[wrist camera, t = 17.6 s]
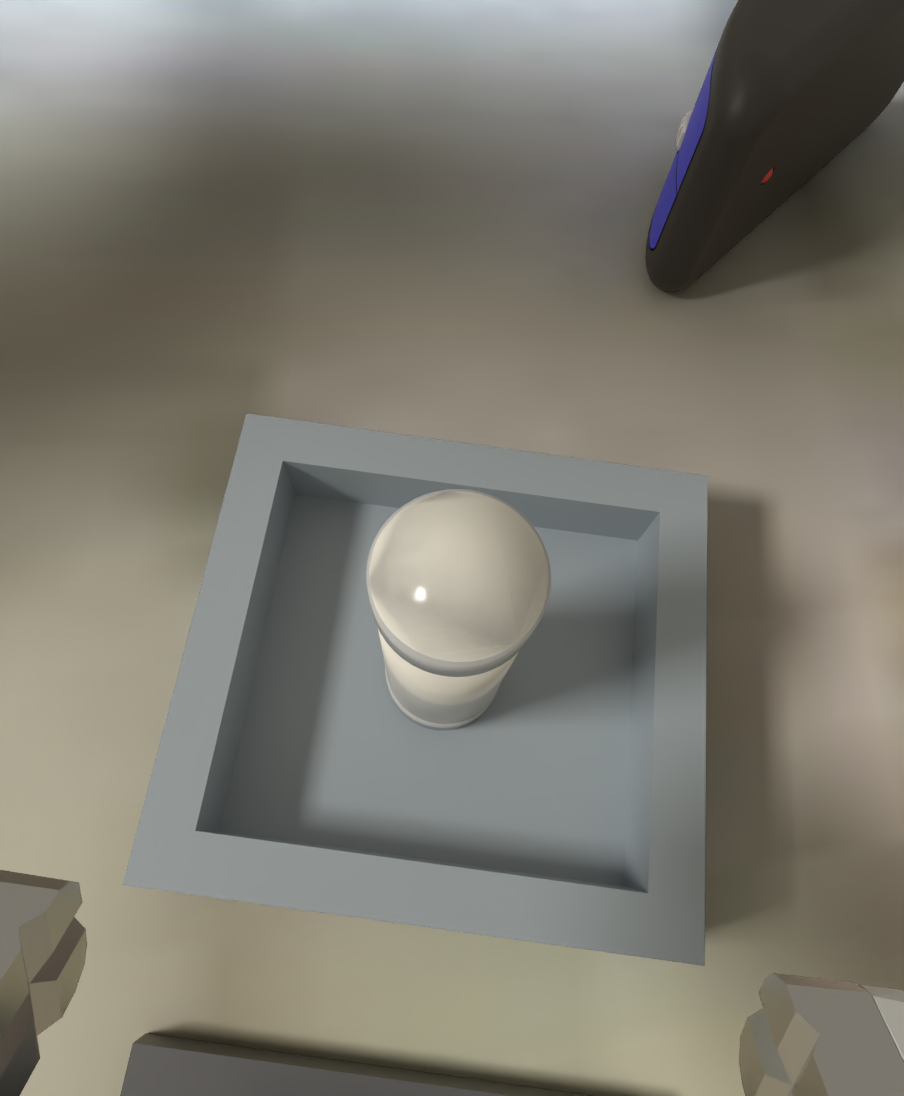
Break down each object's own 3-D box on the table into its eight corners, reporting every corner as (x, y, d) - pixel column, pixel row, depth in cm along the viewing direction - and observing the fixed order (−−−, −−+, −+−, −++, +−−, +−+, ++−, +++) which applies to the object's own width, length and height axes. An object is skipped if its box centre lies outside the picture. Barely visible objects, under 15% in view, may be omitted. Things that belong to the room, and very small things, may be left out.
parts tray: (165, 876, 22) (122, 885, 19) (266, 463, 27) (246, 413, 24) (662, 945, 22) (704, 965, 19) (672, 518, 27) (707, 475, 24)
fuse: (377, 722, 23) (350, 650, 14) (395, 611, 24) (382, 478, 15) (492, 737, 23) (543, 677, 14) (504, 626, 24) (557, 502, 15)
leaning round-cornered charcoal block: (803, 71, 36) (928, -175, 27) (882, 123, 35) (1039, -115, 26) (582, 251, 31) (647, 27, 23) (666, 317, 30) (767, 109, 22)
